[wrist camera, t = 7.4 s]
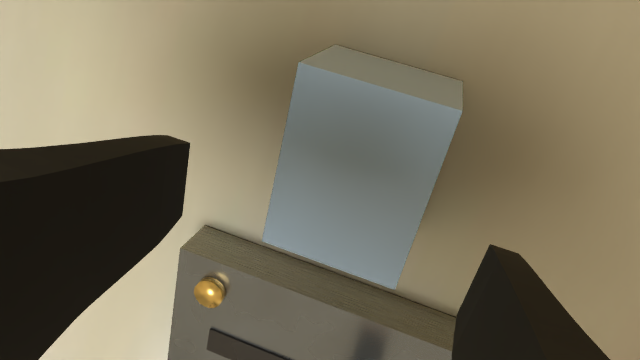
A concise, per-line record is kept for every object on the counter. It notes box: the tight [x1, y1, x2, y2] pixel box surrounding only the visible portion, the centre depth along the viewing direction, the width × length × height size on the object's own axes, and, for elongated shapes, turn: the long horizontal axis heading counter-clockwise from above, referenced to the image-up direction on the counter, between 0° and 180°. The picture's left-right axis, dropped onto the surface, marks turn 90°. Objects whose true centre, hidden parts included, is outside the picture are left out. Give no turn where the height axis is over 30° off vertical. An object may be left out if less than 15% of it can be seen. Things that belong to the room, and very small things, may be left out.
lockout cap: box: [262, 45, 463, 290], centre depth 15 cm, size 4×6×4 cm
